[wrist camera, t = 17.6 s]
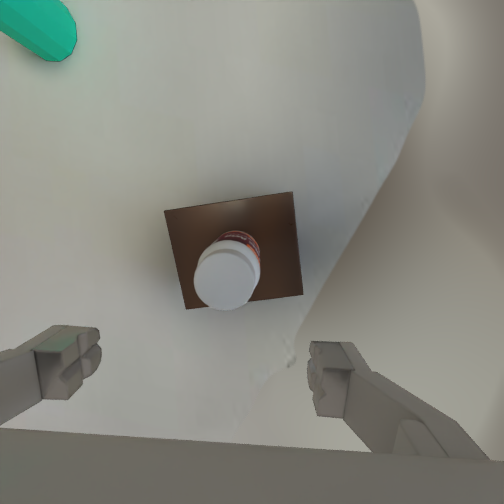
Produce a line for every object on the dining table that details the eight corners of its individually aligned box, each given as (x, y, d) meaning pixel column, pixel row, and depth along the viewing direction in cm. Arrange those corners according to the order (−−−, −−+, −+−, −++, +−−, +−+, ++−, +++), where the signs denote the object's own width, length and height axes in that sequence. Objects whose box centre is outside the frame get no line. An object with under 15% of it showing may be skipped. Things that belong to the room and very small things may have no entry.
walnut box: (284, 193, 29) (292, 191, 22) (293, 273, 31) (303, 295, 24) (185, 207, 30) (163, 210, 23) (201, 285, 32) (185, 309, 25)
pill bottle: (269, 246, 23) (275, 272, 15) (243, 285, 24) (236, 329, 16) (228, 220, 23) (211, 232, 15) (203, 260, 24) (174, 293, 16)
